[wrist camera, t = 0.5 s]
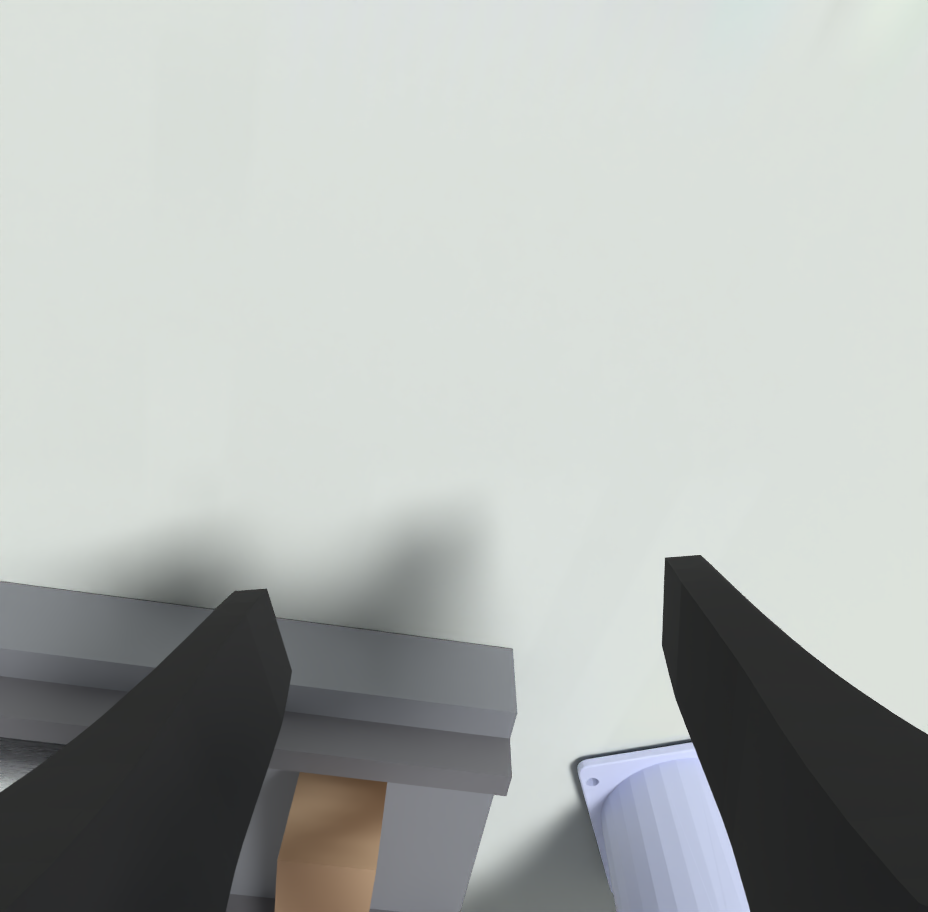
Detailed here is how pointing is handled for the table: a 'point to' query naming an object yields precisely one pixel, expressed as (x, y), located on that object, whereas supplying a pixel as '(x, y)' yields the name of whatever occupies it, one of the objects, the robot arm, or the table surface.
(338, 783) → the bar
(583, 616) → the table surface
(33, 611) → the channel board
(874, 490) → the table surface
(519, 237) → the table surface
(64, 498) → the table surface
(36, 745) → the grey small block
